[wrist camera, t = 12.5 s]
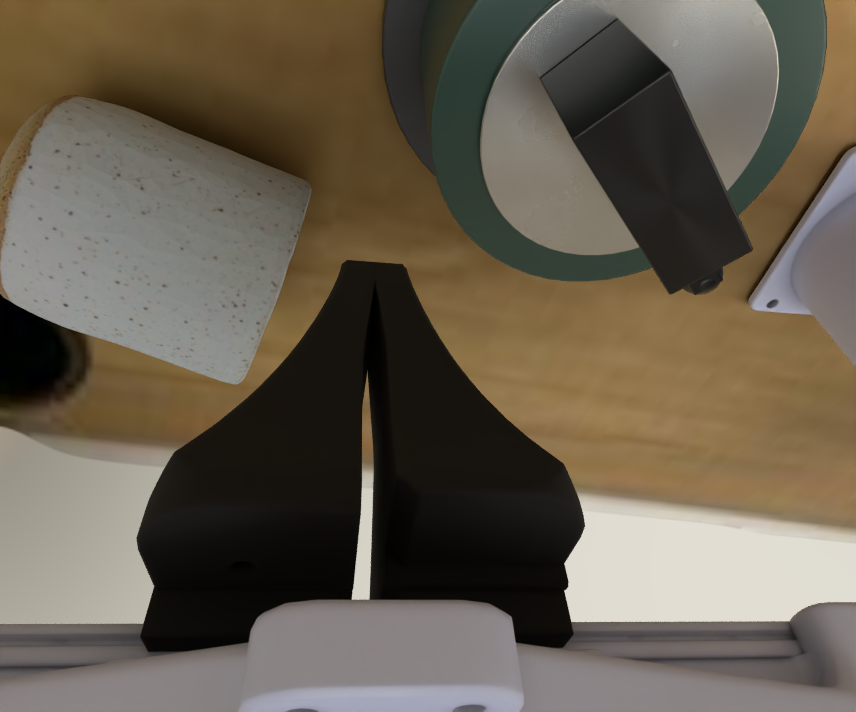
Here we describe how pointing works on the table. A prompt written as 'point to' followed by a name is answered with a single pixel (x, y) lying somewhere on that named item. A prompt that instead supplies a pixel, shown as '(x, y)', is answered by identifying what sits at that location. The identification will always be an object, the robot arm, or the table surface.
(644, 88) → the kettle
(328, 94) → the table surface
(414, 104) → the kettle base
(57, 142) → the ceramic mug
